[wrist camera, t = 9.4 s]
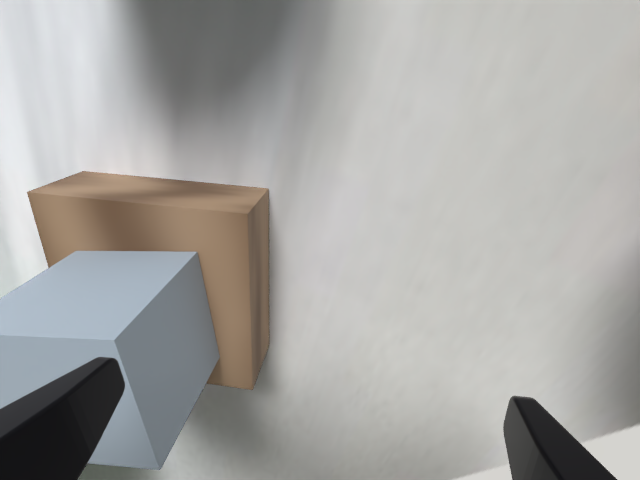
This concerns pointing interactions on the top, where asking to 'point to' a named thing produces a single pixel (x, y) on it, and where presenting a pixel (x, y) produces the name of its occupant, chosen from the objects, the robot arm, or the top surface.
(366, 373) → the top surface
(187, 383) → the grey cube
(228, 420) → the top surface
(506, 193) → the top surface
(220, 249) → the walnut block
